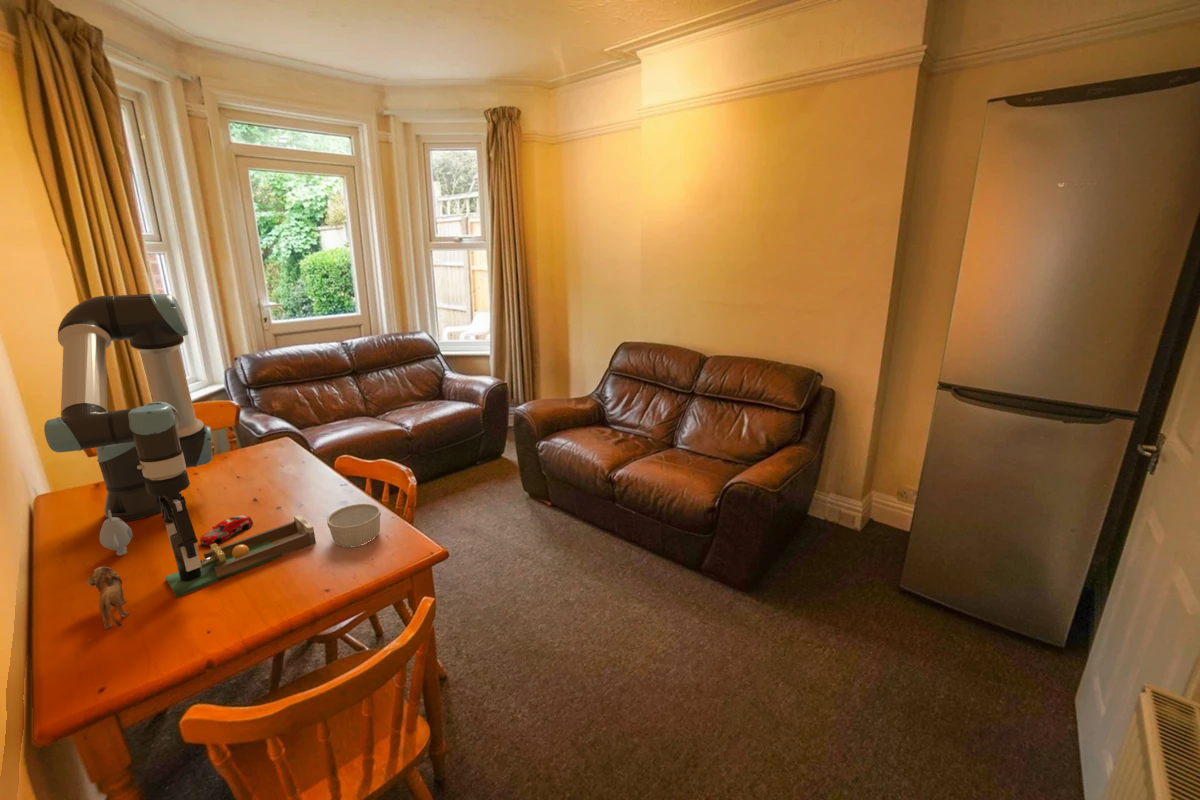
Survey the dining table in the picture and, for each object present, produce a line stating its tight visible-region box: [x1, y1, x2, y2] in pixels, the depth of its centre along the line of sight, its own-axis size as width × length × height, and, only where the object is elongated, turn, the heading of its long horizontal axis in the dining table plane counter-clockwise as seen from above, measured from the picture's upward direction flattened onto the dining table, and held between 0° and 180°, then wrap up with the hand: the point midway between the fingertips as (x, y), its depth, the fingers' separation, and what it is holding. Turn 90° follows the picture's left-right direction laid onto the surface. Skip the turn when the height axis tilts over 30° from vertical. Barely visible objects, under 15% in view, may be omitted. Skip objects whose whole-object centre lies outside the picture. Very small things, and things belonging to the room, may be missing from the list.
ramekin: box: [326, 503, 382, 548], centre depth 144 cm, size 13×13×7 cm
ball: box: [232, 545, 249, 559], centre depth 133 cm, size 4×4×4 cm
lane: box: [165, 514, 317, 598], centre depth 133 cm, size 10×30×5 cm, turn 139°
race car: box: [199, 514, 254, 547], centre depth 145 cm, size 13×5×4 cm, turn 159°
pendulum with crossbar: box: [169, 533, 227, 581], centre depth 126 cm, size 7×9×11 cm
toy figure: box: [99, 510, 133, 557], centre depth 135 cm, size 11×6×12 cm, turn 41°
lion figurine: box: [85, 565, 130, 630], centre depth 114 cm, size 15×5×9 cm, turn 51°
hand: (186, 557), depth 124 cm, fingers open, 13 cm apart
